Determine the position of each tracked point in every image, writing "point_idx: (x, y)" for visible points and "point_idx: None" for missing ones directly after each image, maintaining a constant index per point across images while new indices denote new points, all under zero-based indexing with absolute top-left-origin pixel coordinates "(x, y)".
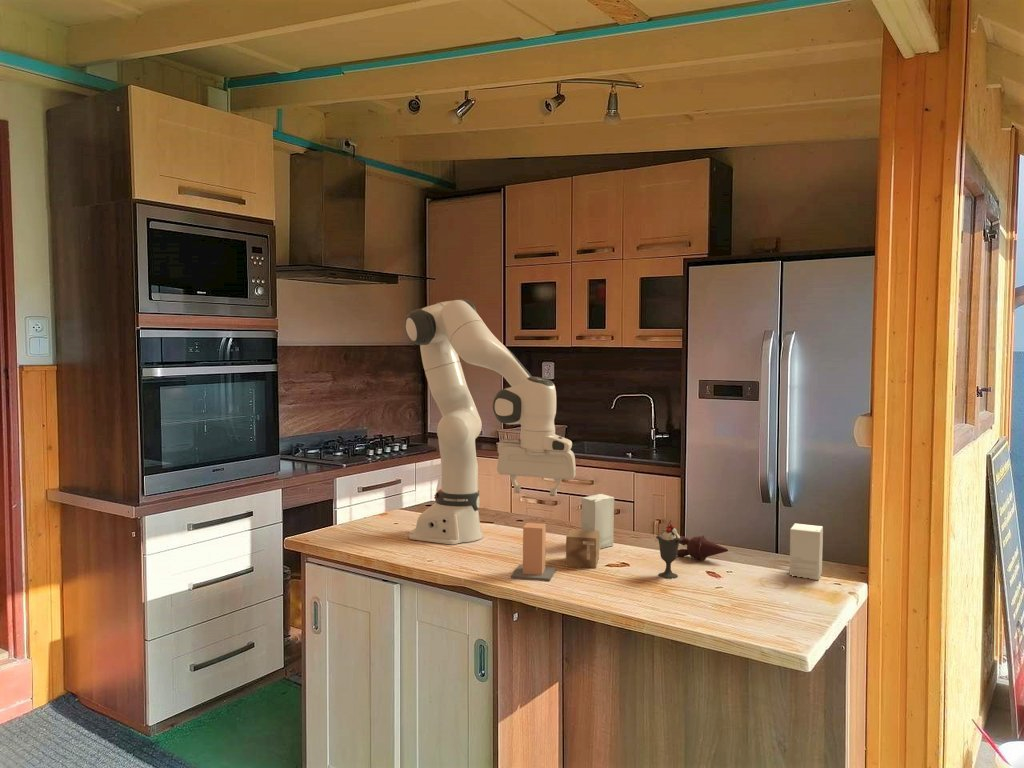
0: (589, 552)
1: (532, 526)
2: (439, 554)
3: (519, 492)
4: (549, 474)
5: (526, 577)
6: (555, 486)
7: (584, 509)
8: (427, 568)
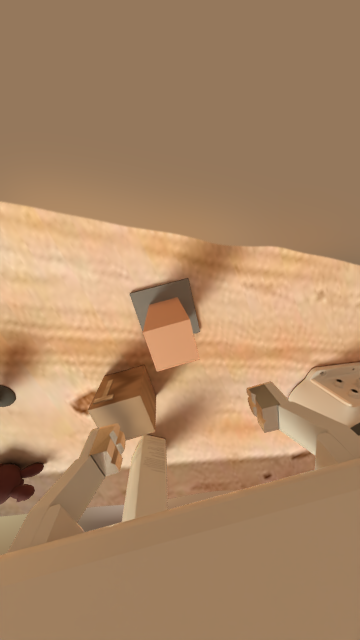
0: (106, 388)
1: (173, 336)
2: (316, 326)
3: (247, 389)
4: (50, 589)
5: (164, 284)
6: (70, 476)
7: (160, 500)
8: (314, 260)
